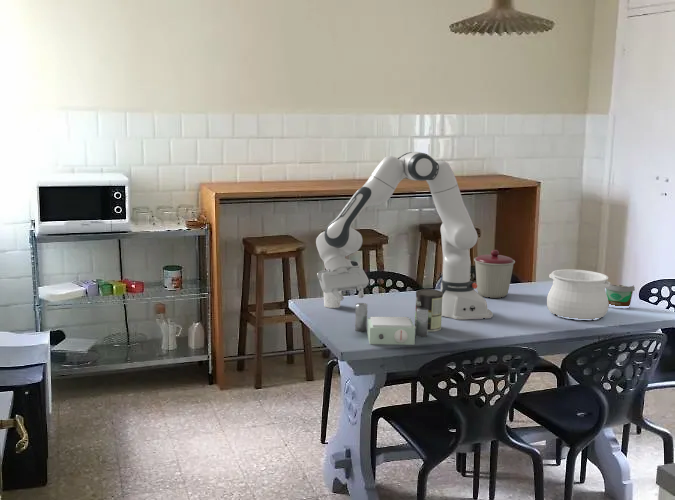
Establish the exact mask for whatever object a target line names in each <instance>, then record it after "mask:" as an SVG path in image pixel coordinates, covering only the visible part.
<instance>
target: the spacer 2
mask: <svg viewBox="0 0 675 500" xmlns="http://www.w3.org/2000/svg"><path fill="white" fill-rule="evenodd" d="M415 312H416V328H415V337H419V338H426V337H428V332H427V328H428V309H427V308H417V309H416V308H415Z"/></svg>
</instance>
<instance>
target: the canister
mask: <svg viewBox="0 0 675 500" xmlns="http://www.w3.org/2000/svg"><path fill="white" fill-rule="evenodd" d="M473 261H474V262H475V279H476V282H475V283H476V284H477V286H478V287H477V288H476V292H477V293H479V294H480V295H481V296H482V297H483V298H488V297H490V298H489V299H501V297H502V298H505V297H507V295H508V293H509V289H510V286H511V285H510V284H511V280H512V274H513V269H514V264H515V263H516V261H515V259H513V258H512V257H510V256H506V255H502V254H500V252H499V250H498V249H492V250H491V251H490V254H481V255H480V254H479V255H478V256H477V257H474V258H473Z"/></svg>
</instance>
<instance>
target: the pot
mask: <svg viewBox="0 0 675 500" xmlns="http://www.w3.org/2000/svg"><path fill="white" fill-rule="evenodd" d="M548 276H549V278H550V279H552V280H553V281H552V286H551V287H550V290H549V291H548V294H547V297H546V305H547V309H548V311H549V312H550V313H551V314H552V313H553V314H556V315H559V316H563V317H569V318H578V319H595V318H601V317H603V318H604V317H605V316H606V315H607V312H608V310H609V307H608V306H609V302H608V297H607V294H606V288H605V287H609V286H610V285H611V282H610V281H608V280H609V276H608V275H606V274H604V273H601V272H597V271H592V270H584V269H556V270H553V271H552V272H551V273H549V275H548ZM553 314H552V315H553ZM601 319H602V318H601Z"/></svg>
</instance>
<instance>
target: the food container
mask: <svg viewBox="0 0 675 500" xmlns="http://www.w3.org/2000/svg"><path fill="white" fill-rule="evenodd" d="M635 289H636V288H635V285H632V286H626V285H621V284H610V286H609V287H605V291H606V294H607V297H608V302H609V304H611V305H615V306H629V305H630V306H631V303H632V297H633V294H634V291H635Z"/></svg>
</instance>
